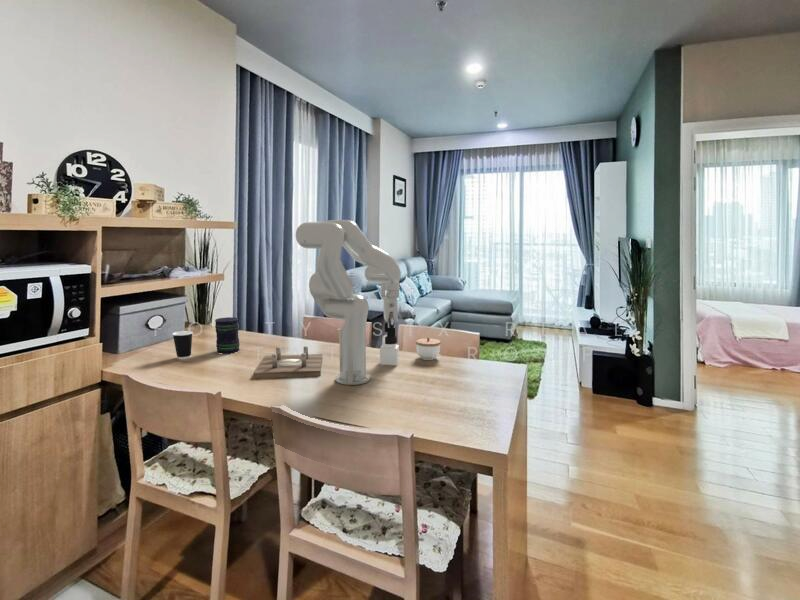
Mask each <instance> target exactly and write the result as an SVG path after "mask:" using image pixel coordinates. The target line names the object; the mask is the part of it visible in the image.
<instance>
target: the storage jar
mask: <svg viewBox="0 0 800 600" xmlns="http://www.w3.org/2000/svg"><path fill="white" fill-rule="evenodd" d="M214 320H215V321H214V322H215V323H214V324H215V326H214V328H215V333H216V343H215V345H216V353H217V354H218V353H222V354H221V355H231V353H232V354H235V352H237V353H239V352H240V351H239V350H240V338H239V331H240V329H239V327H240V326H239V318H238V317H235V316H234V317H233V316H231V317H220V318H216V319H214ZM238 351H239V352H238Z"/></svg>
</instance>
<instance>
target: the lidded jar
mask: <svg viewBox="0 0 800 600" xmlns="http://www.w3.org/2000/svg"><path fill="white" fill-rule="evenodd" d="M441 343H442V342H441V340H440V339H437V338H436V339H435V338H430V337H429V336H427V338H419V339H417V340H415V347H416V352H417V353H416V354H417V355H418V357H420V359H421V360H425V361H433V359H434V360H436V358H437V357H438V356H439V354H440V351H441Z"/></svg>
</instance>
